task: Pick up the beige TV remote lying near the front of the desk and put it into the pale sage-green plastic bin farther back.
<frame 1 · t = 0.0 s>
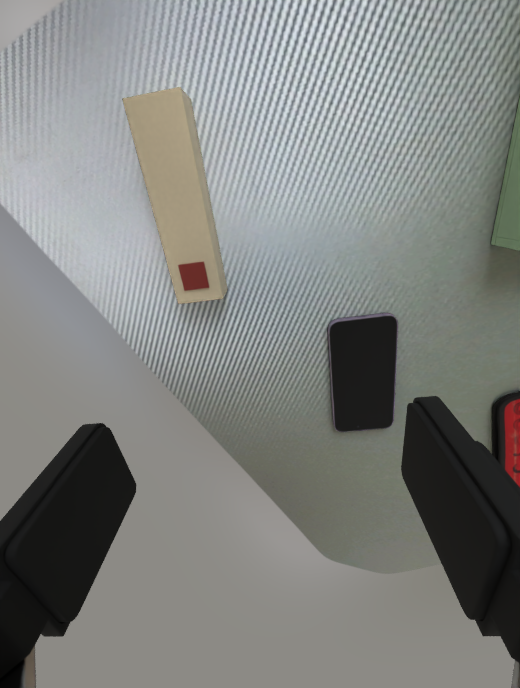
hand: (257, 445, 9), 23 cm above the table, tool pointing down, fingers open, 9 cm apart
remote: (188, 210, 28), on the table
smartphone: (360, 373, 35), on the table
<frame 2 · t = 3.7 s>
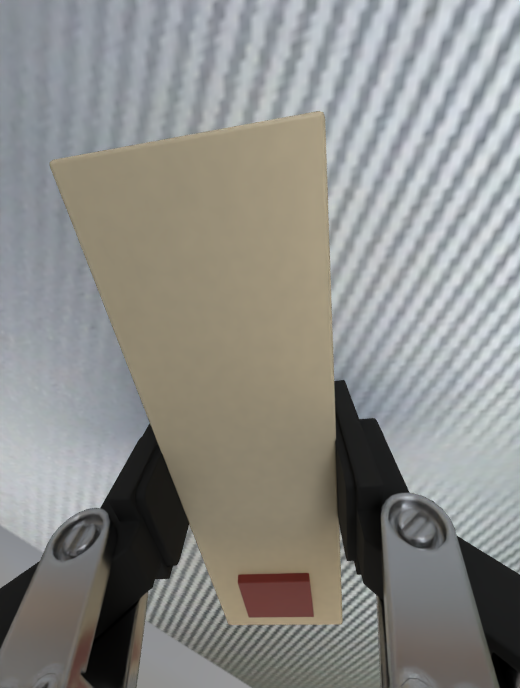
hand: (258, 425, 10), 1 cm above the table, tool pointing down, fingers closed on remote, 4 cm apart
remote: (259, 414, 11), on the table, touching gripper
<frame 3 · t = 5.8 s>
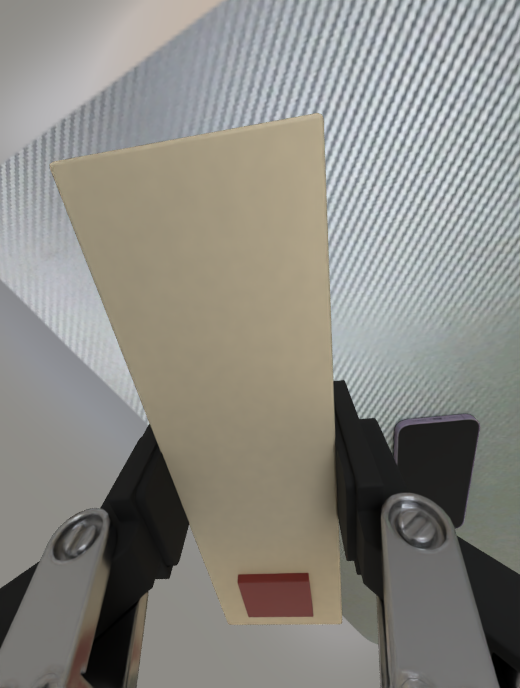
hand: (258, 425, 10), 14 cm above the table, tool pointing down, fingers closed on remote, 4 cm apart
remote: (259, 414, 11), point 14 cm above the table, touching gripper
smartphone: (427, 471, 30), on the table
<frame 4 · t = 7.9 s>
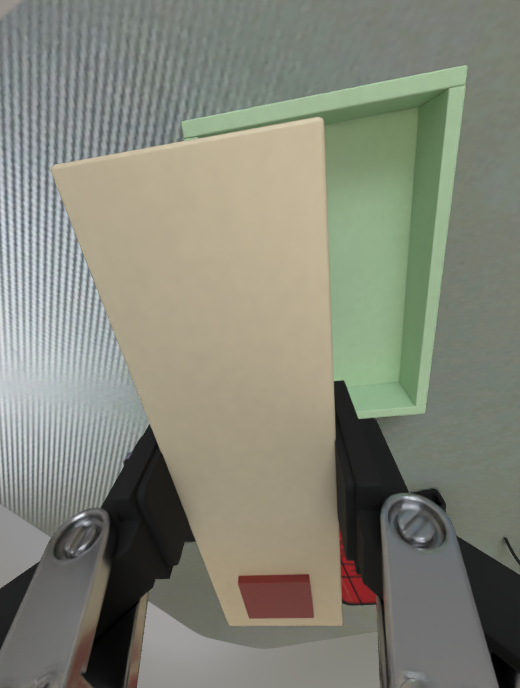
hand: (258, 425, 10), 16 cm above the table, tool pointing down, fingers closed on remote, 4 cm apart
binder: (380, 548, 39), on the table
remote: (259, 416, 11), point 15 cm above the table, touching gripper
bin: (318, 281, 23), on the table
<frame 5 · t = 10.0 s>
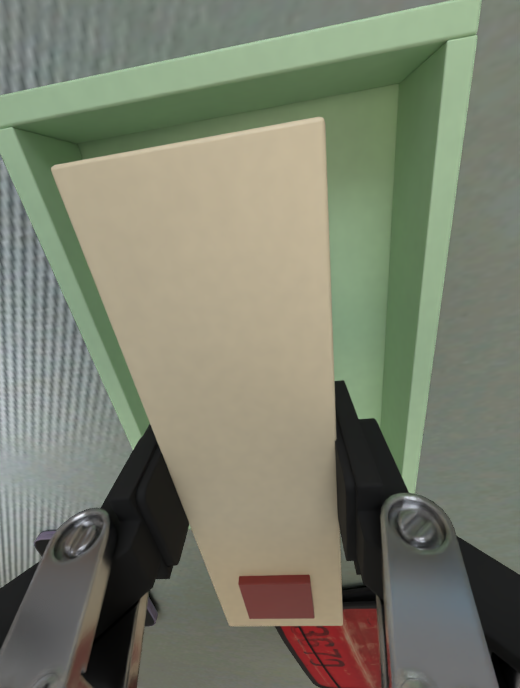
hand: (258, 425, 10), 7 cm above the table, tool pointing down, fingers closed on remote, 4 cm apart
binder: (362, 631, 32), on the table
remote: (260, 416, 11), point 7 cm above the table, touching gripper
smartphone: (106, 573, 29), on the table
bin: (263, 335, 17), on the table
when the fingers open (2 cm above the table, at t = 11.9 s): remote stays where it is, resting on bin.
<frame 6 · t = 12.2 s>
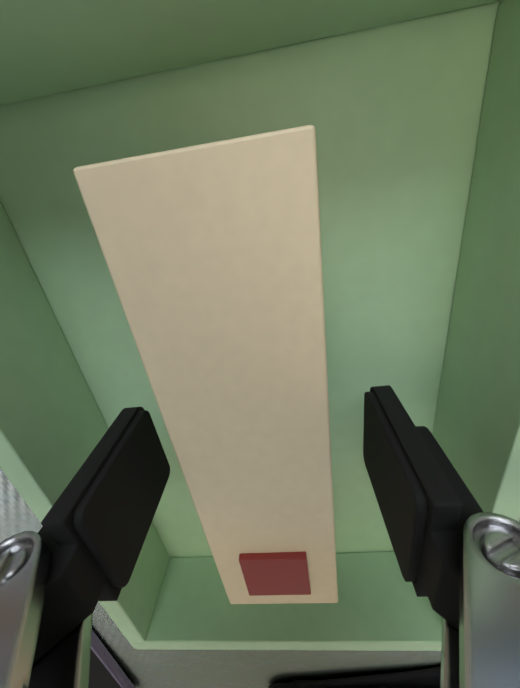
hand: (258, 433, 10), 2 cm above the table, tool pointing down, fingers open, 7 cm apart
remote: (259, 403, 11), point 1 cm above the table, touching bin
smartphone: (74, 648, 24), on the table
bin: (261, 393, 12), on the table
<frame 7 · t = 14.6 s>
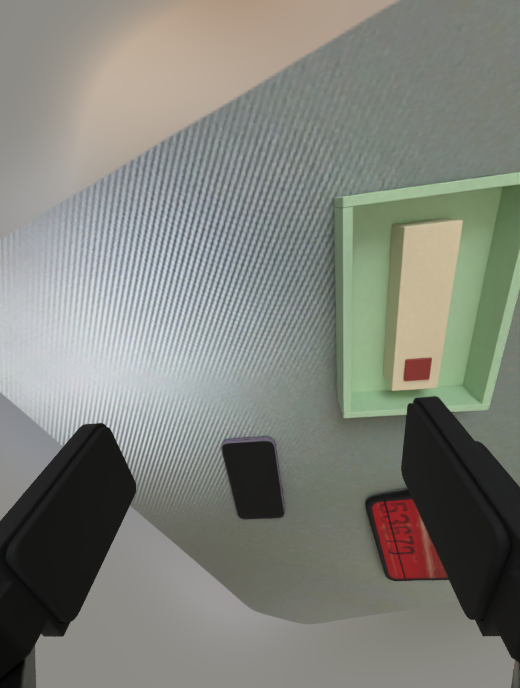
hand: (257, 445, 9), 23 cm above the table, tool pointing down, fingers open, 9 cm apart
binder: (426, 529, 45), on the table
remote: (409, 306, 30), point 1 cm above the table, touching bin
smartphone: (255, 476, 43), on the table
bin: (408, 304, 30), on the table
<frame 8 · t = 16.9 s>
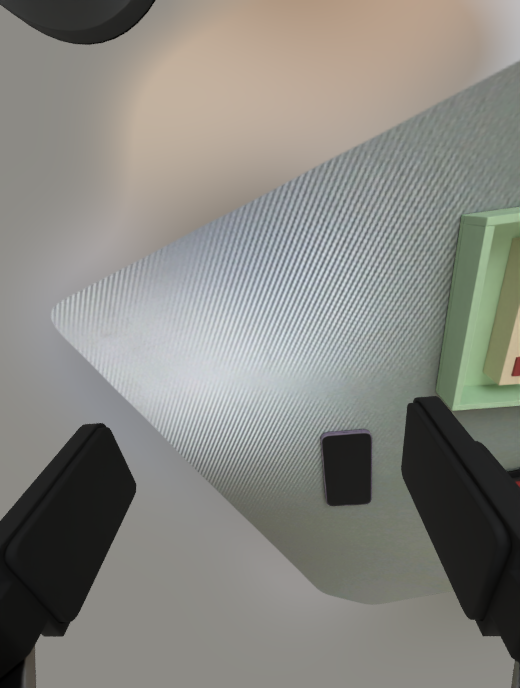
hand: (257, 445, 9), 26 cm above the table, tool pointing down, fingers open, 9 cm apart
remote: (517, 309, 33), point 1 cm above the table, touching bin
smartphone: (346, 465, 46), on the table
bin: (514, 307, 34), on the table
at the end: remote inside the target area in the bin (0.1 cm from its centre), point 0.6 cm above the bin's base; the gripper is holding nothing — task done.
